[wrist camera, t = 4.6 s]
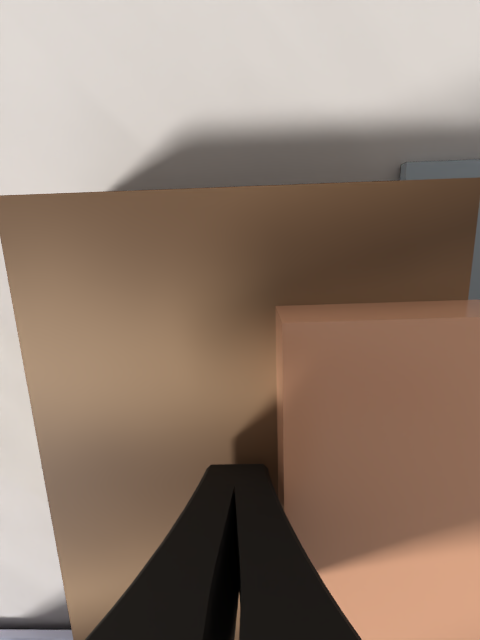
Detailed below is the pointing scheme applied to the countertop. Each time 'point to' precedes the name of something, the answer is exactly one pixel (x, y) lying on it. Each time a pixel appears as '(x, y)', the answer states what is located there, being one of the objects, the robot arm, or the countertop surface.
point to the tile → (385, 460)
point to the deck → (191, 336)
